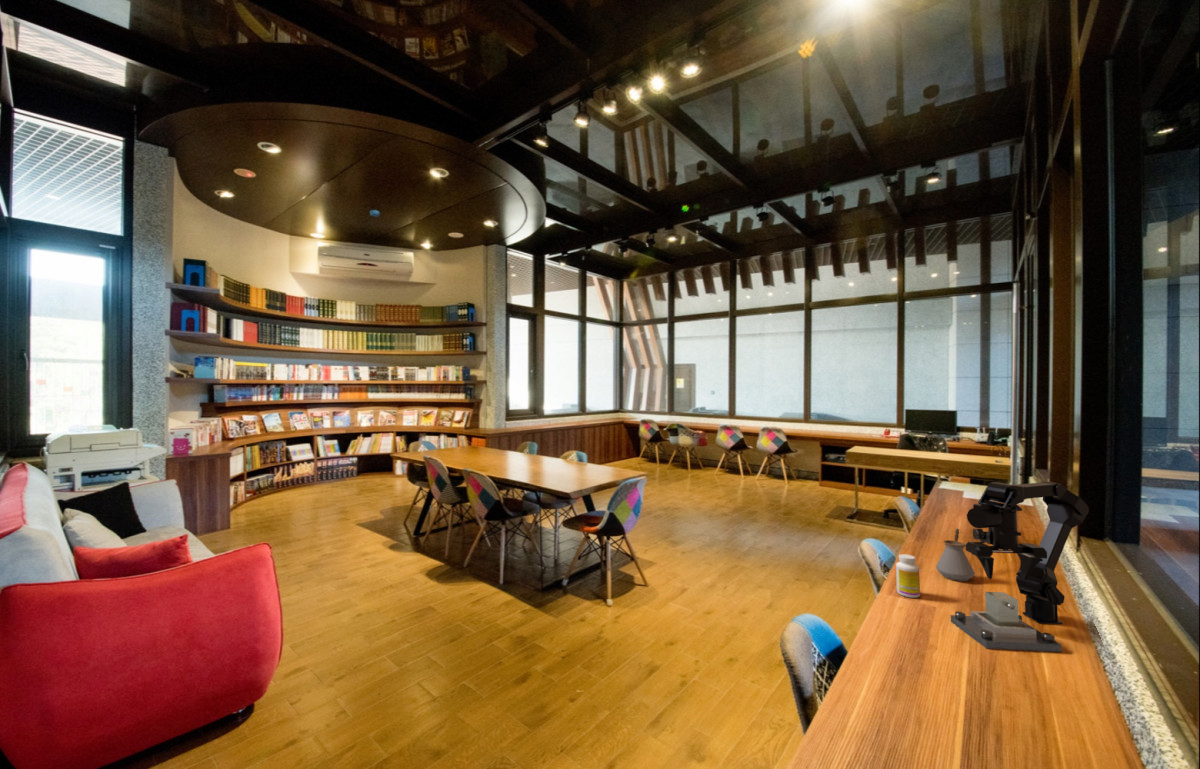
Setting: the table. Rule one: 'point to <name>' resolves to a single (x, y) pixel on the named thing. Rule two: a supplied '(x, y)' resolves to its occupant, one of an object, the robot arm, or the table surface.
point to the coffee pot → (955, 561)
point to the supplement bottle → (907, 576)
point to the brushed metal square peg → (1001, 609)
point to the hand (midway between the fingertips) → (1006, 579)
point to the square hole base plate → (1004, 634)
